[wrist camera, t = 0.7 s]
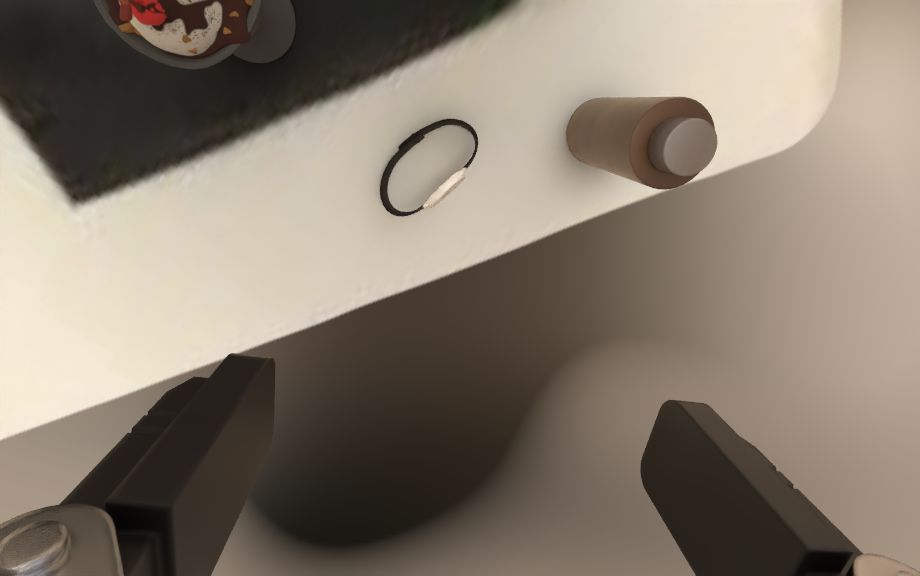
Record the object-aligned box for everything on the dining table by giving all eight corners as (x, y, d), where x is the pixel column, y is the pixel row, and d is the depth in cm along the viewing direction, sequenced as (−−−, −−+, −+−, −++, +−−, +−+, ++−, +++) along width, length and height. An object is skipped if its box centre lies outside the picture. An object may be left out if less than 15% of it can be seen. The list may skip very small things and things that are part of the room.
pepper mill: (558, 156, 32) (630, 183, 21) (578, 90, 30) (668, 85, 20) (614, 170, 33) (711, 204, 22) (637, 107, 31) (753, 111, 21)
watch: (411, 226, 33) (411, 241, 30) (364, 178, 31) (358, 188, 28) (491, 152, 31) (500, 159, 28) (445, 98, 30) (450, 98, 26)
